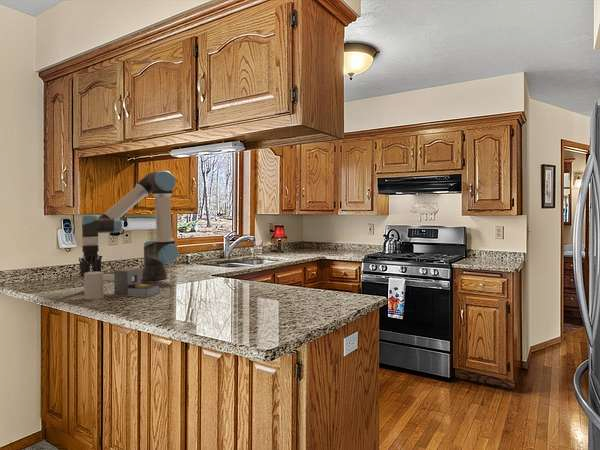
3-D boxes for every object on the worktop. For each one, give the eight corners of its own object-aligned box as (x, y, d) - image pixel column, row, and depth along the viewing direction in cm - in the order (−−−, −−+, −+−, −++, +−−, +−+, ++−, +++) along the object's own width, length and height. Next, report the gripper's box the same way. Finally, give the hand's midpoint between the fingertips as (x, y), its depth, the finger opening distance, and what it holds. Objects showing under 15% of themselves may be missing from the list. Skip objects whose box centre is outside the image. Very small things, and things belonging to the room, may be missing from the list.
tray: (141, 291, 218) (141, 285, 218) (159, 293, 214) (159, 286, 214) (127, 295, 208) (127, 288, 208) (146, 297, 205) (146, 289, 205)
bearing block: (128, 290, 220) (128, 267, 220) (141, 291, 218) (141, 268, 217) (114, 294, 211) (114, 270, 210) (127, 295, 208) (127, 271, 208)
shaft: (90, 287, 224) (90, 270, 224) (136, 290, 215) (135, 273, 215) (84, 289, 220) (84, 271, 220) (130, 292, 211) (130, 274, 211)
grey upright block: (102, 298, 201) (102, 273, 201) (83, 300, 198) (83, 274, 198) (103, 295, 209) (103, 271, 208) (85, 296, 206) (85, 272, 205)
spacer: (141, 284, 215) (148, 284, 214) (141, 291, 215) (148, 292, 214) (135, 285, 210) (141, 286, 209) (135, 293, 210) (142, 294, 209)
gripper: (97, 243, 230) (98, 286, 231) (71, 245, 214) (72, 292, 215) (108, 243, 228) (109, 287, 229) (82, 246, 212) (83, 292, 212)
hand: (91, 289), depth 222 cm, fingers closed on shaft, 4 cm apart
